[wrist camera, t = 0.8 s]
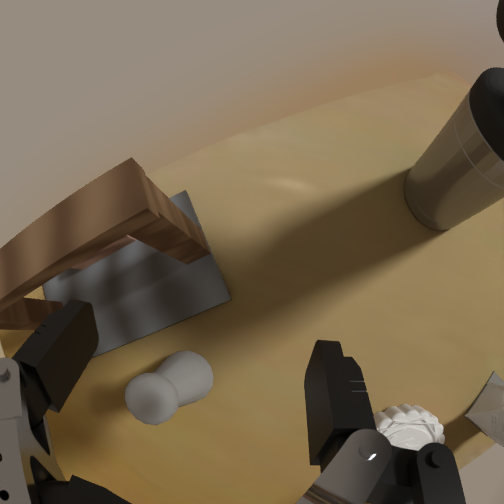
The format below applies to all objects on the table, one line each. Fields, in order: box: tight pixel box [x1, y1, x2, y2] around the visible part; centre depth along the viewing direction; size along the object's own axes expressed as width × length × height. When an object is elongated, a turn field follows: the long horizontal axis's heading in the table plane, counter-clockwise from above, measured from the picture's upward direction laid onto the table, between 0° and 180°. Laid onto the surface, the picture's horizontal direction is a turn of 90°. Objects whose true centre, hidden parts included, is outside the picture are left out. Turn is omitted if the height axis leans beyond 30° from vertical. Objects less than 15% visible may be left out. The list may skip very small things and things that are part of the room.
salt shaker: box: [125, 351, 214, 425], centre depth 26 cm, size 6×6×13 cm
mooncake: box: [373, 404, 445, 451], centre depth 26 cm, size 12×12×4 cm
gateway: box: [0, 158, 231, 358], centre depth 27 cm, size 25×14×18 cm, turn 114°
